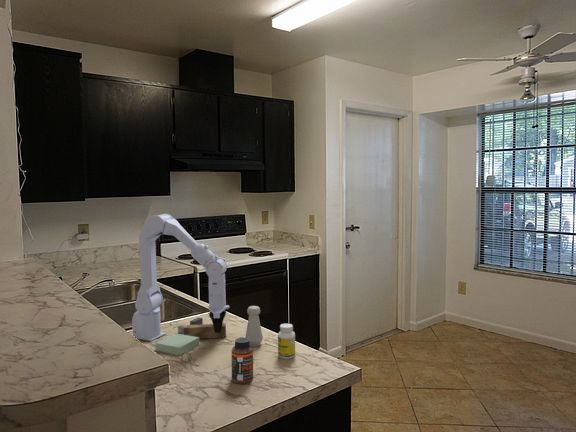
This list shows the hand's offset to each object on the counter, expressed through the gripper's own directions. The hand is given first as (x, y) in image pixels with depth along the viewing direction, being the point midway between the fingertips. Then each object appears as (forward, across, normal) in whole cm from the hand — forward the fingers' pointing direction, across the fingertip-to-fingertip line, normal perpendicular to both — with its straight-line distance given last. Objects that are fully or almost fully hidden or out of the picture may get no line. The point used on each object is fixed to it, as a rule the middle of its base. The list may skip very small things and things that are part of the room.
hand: (218, 332), depth 151 cm
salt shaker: (+3, -7, -12) cm, 14 cm away
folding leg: (+2, +2, +6) cm, 7 cm away
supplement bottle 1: (+3, -33, -8) cm, 34 cm away
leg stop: (+2, +14, +9) cm, 16 cm away
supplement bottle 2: (+3, -18, -22) cm, 29 cm away
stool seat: (+2, -6, +13) cm, 15 cm away
